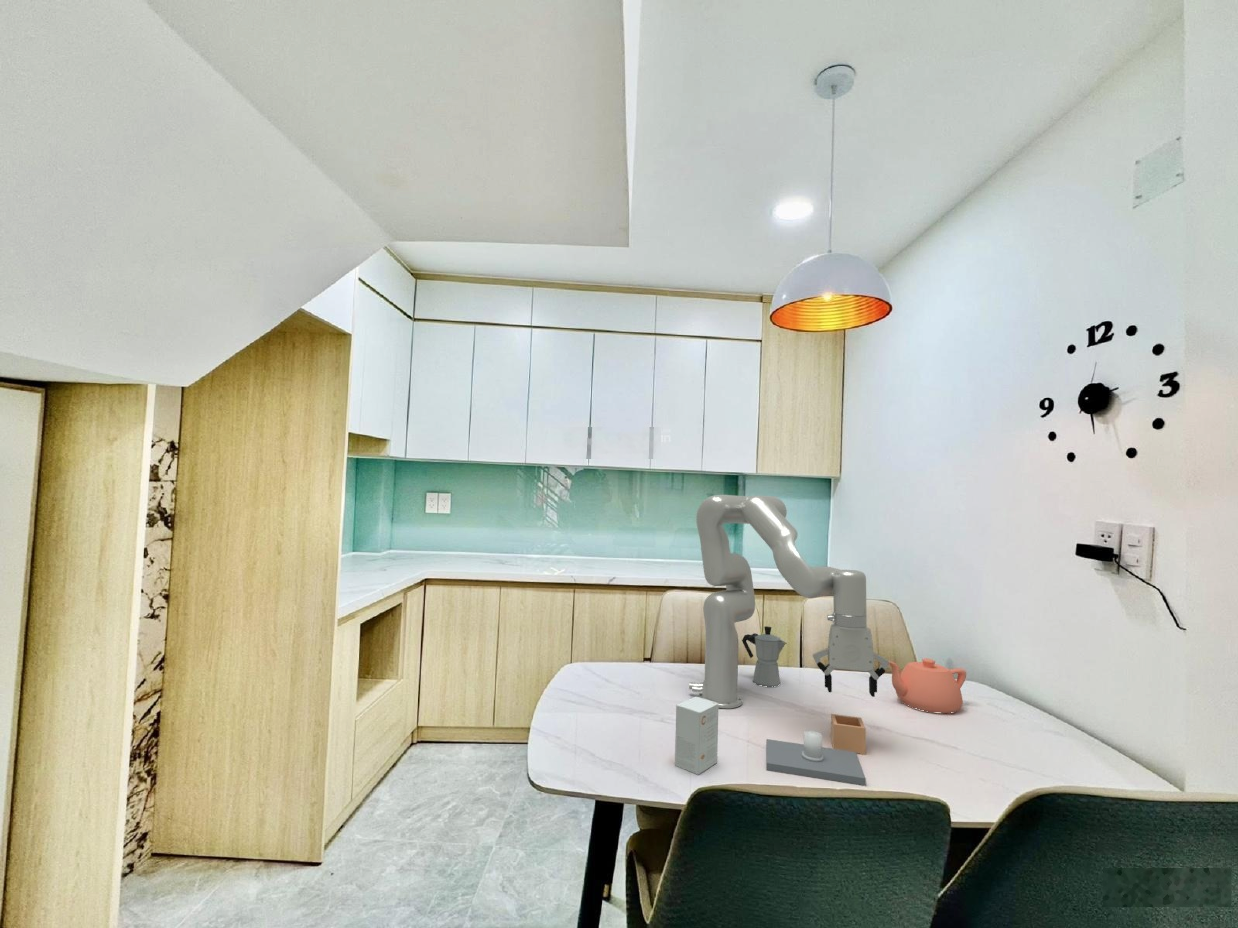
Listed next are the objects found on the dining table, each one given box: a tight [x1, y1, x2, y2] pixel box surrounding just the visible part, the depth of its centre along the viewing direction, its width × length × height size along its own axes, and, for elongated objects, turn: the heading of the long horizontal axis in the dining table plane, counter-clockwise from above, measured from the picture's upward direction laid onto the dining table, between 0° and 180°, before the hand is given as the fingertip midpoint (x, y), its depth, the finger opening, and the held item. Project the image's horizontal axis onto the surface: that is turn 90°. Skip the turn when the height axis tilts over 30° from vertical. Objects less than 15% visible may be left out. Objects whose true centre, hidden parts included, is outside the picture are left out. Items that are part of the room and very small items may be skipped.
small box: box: [674, 696, 720, 775], centre depth 124 cm, size 8×6×13 cm
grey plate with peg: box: [765, 730, 867, 787], centre depth 126 cm, size 20×13×6 cm, turn 75°
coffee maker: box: [741, 626, 788, 688], centre depth 183 cm, size 15×9×18 cm, turn 58°
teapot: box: [888, 658, 967, 714], centre depth 168 cm, size 25×17×13 cm
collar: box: [829, 713, 867, 755], centre depth 136 cm, size 7×7×6 cm
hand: (850, 692), depth 136 cm, fingers open, 9 cm apart
